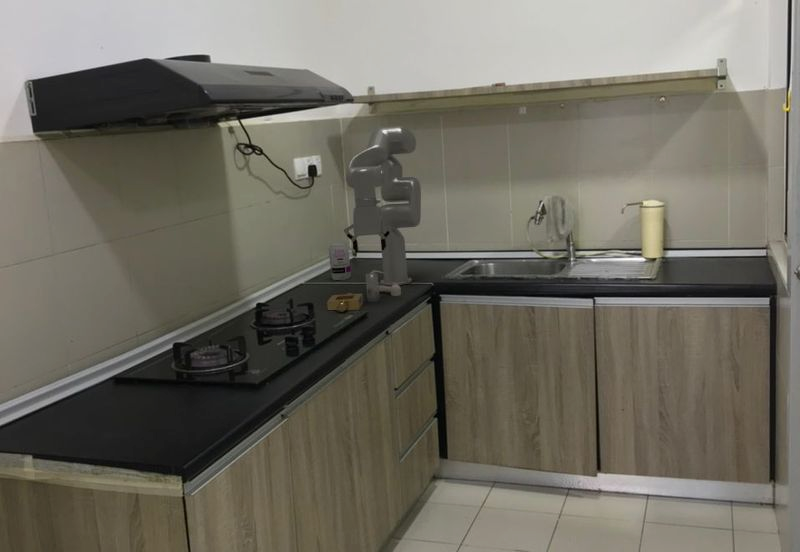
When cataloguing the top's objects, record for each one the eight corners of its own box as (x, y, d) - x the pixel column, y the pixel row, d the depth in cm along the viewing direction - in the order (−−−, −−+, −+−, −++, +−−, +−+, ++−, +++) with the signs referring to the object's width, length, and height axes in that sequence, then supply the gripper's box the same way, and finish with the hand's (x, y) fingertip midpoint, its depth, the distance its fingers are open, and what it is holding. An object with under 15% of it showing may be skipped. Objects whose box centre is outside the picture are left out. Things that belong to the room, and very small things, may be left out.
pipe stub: (368, 300, 312) (366, 273, 310) (380, 299, 312) (378, 272, 310) (367, 302, 308) (364, 275, 306) (379, 301, 307) (376, 274, 305)
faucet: (393, 308, 317) (397, 284, 313) (364, 289, 328) (367, 266, 324) (401, 306, 320) (405, 282, 316) (372, 287, 331) (375, 264, 327)
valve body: (335, 302, 313) (334, 293, 312) (364, 300, 311) (363, 291, 311) (326, 314, 294) (325, 304, 293) (357, 312, 293) (356, 302, 292)
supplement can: (344, 276, 366) (341, 242, 364) (354, 278, 360) (351, 243, 357) (328, 279, 362) (324, 244, 359) (338, 281, 355) (335, 246, 352)
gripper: (390, 200, 306) (394, 247, 309) (343, 204, 307) (347, 250, 310) (388, 202, 298) (392, 250, 301) (340, 206, 300) (344, 254, 303)
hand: (369, 250), depth 306 cm, fingers open, 9 cm apart
